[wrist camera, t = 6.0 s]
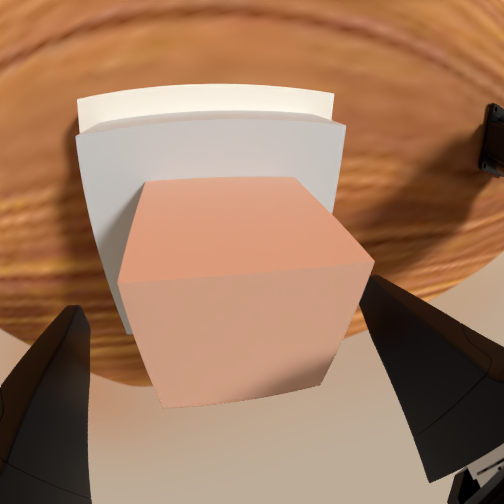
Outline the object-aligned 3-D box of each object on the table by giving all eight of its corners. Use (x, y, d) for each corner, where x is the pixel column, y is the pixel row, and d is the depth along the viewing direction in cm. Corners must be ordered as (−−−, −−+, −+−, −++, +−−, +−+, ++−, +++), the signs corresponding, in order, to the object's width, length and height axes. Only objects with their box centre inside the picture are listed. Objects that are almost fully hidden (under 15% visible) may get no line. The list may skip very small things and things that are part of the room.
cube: (294, 177, 10) (374, 261, 6) (277, 287, 12) (319, 384, 8) (145, 181, 8) (117, 283, 4) (161, 297, 11) (163, 408, 7)
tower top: (311, 113, 11) (346, 125, 9) (290, 275, 16) (310, 312, 14) (100, 122, 9) (75, 136, 7) (131, 292, 14) (127, 334, 12)
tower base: (307, 89, 13) (334, 93, 11) (287, 257, 19) (302, 285, 17) (97, 95, 11) (77, 99, 8) (123, 271, 17) (117, 304, 15)
